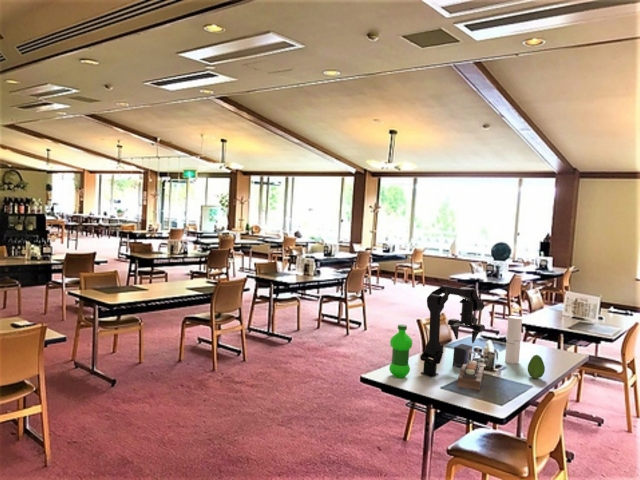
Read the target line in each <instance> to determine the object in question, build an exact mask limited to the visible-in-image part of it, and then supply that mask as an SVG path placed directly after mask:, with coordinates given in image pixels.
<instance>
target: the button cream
mask: <svg viewBox="0 0 640 480" xmlns="http://www.w3.org/2000/svg"><path fill="white" fill-rule="evenodd" d="M477 364H478V361H477V360H472V359H471V360H470V361H469V365H475V366H477Z"/></svg>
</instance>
